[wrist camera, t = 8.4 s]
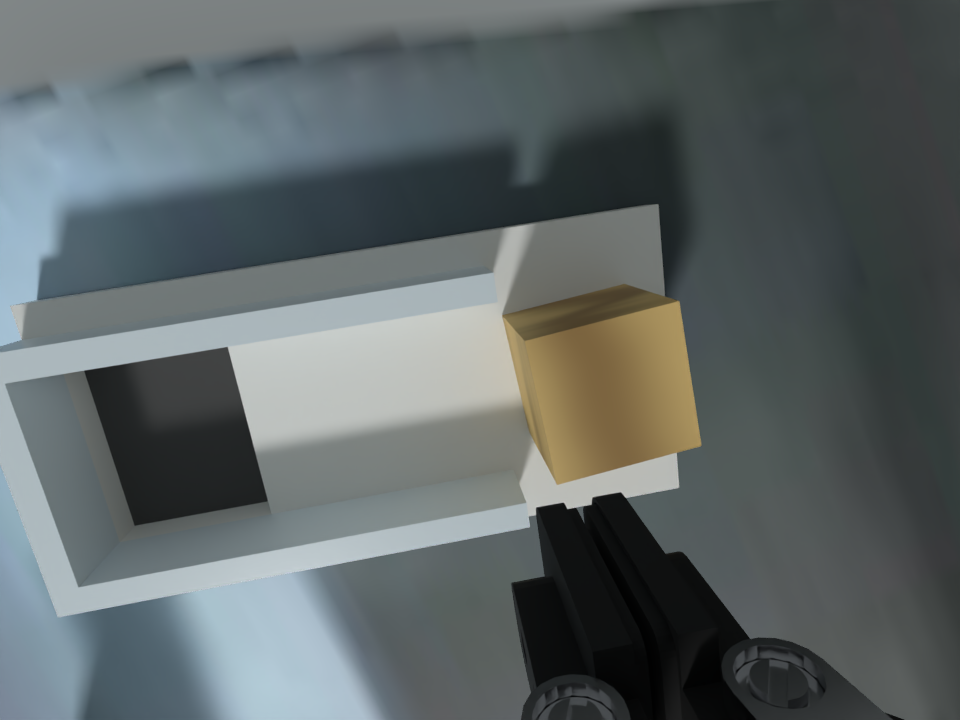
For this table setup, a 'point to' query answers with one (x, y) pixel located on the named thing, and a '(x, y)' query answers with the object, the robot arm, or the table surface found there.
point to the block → (604, 380)
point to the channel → (297, 409)
